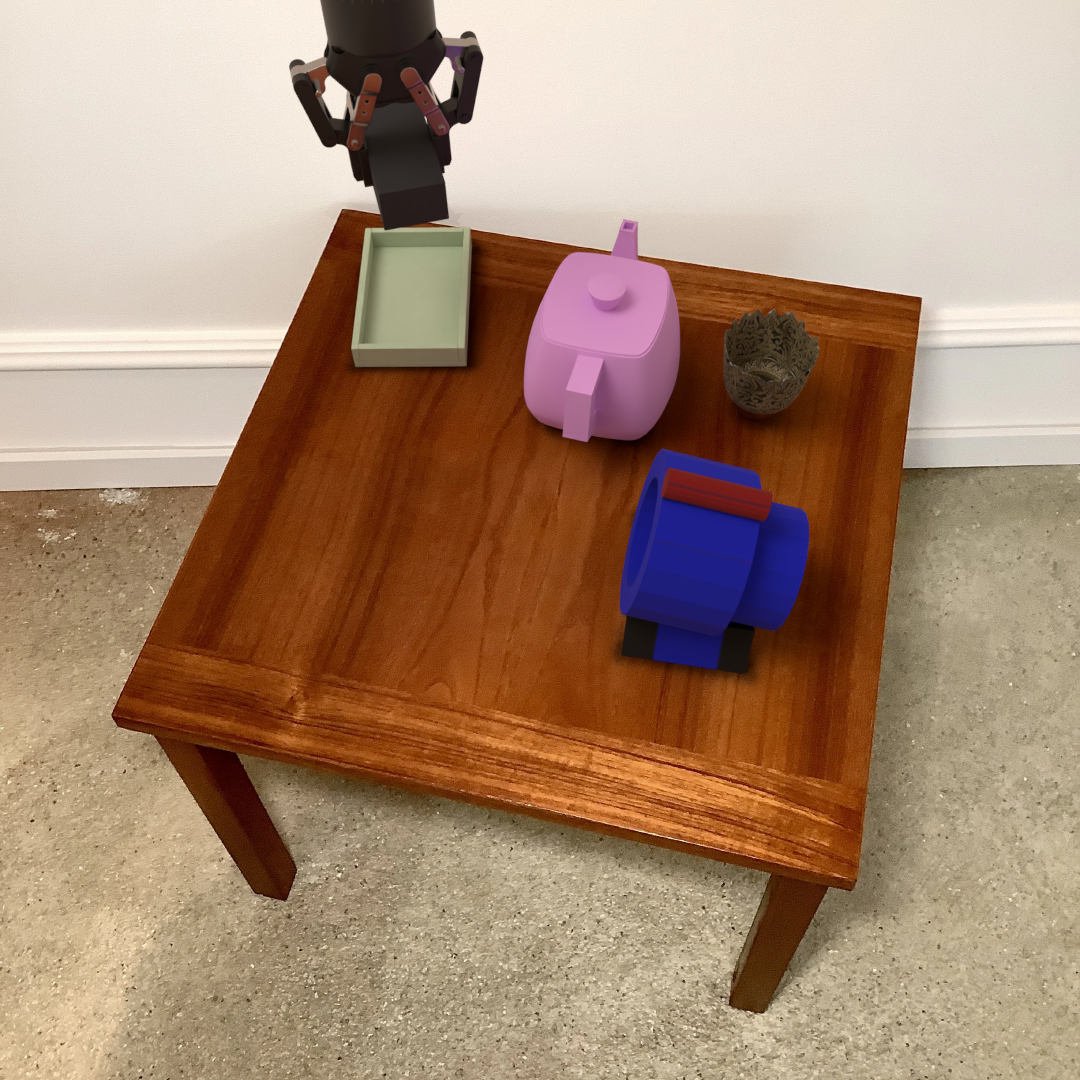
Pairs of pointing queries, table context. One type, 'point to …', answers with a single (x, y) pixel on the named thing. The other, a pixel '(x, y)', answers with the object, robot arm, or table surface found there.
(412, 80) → the robot arm
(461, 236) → the pale green tray
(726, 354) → the cup
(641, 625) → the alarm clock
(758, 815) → the table surface
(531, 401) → the teapot
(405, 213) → the black rectangular block
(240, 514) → the table surface
